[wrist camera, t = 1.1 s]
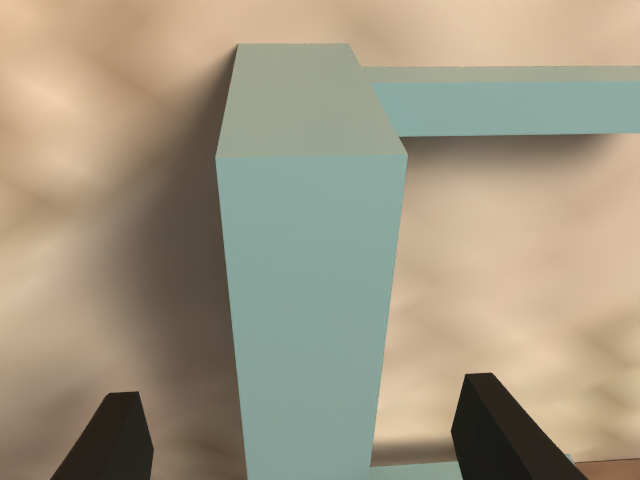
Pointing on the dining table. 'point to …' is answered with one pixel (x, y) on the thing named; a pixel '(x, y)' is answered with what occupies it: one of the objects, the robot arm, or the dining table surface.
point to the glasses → (351, 227)
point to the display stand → (611, 470)
